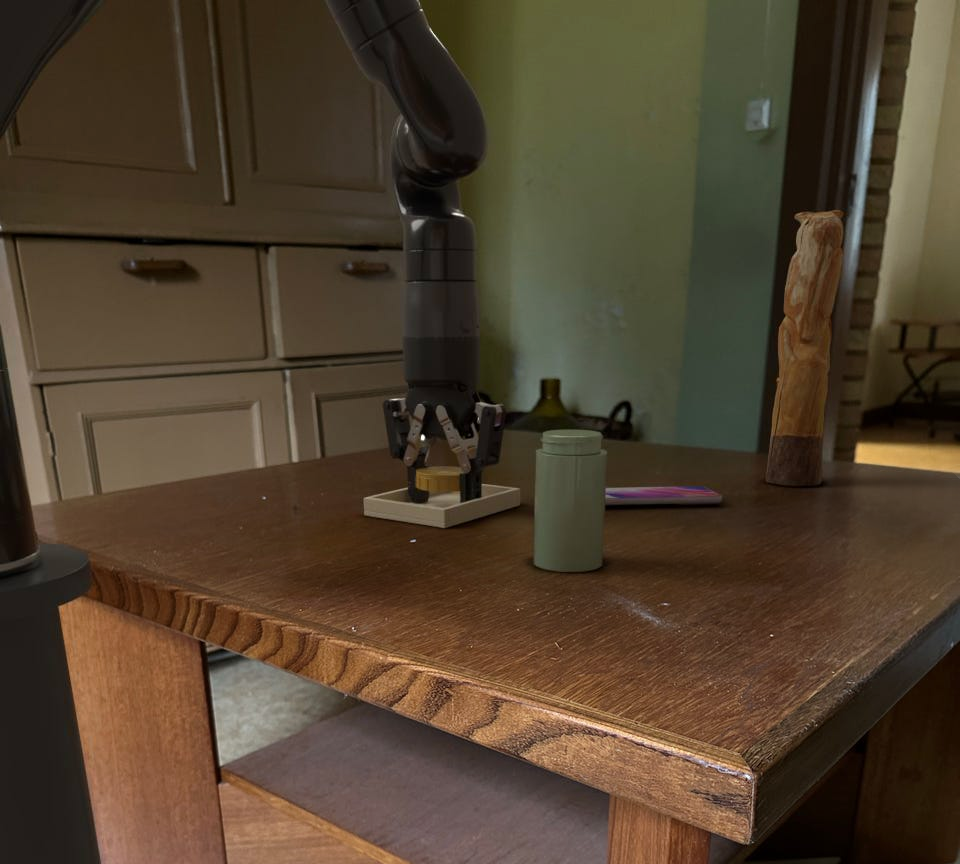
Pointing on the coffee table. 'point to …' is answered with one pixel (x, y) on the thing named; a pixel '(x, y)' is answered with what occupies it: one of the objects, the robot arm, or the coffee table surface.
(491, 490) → the tray
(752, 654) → the coffee table surface
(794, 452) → the sculpture
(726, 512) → the coffee table surface
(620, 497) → the smartphone
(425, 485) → the jar lid
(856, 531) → the coffee table surface
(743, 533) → the coffee table surface
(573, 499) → the jar
